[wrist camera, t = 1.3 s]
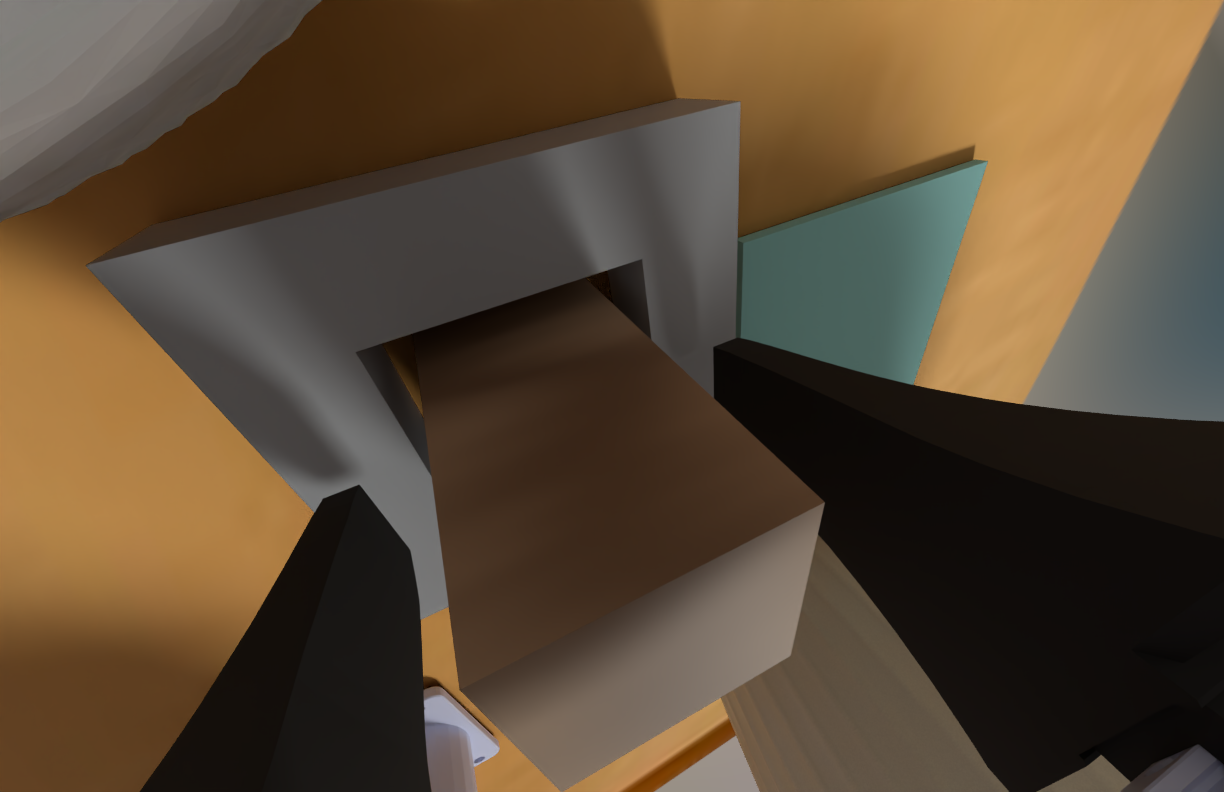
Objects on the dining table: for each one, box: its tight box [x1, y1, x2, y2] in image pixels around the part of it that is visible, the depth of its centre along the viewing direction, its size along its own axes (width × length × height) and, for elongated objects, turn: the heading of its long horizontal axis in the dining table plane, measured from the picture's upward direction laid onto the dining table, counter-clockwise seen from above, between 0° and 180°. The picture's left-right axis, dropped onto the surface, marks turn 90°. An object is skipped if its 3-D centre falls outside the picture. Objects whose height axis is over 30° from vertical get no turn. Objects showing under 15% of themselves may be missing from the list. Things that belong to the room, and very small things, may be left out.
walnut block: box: [413, 278, 825, 792], centre depth 9 cm, size 4×4×8 cm
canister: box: [721, 535, 1131, 792], centre depth 18 cm, size 18×18×21 cm
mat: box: [736, 160, 988, 385], centre depth 16 cm, size 9×9×1 cm
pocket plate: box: [86, 98, 740, 619], centre depth 11 cm, size 10×10×2 cm
